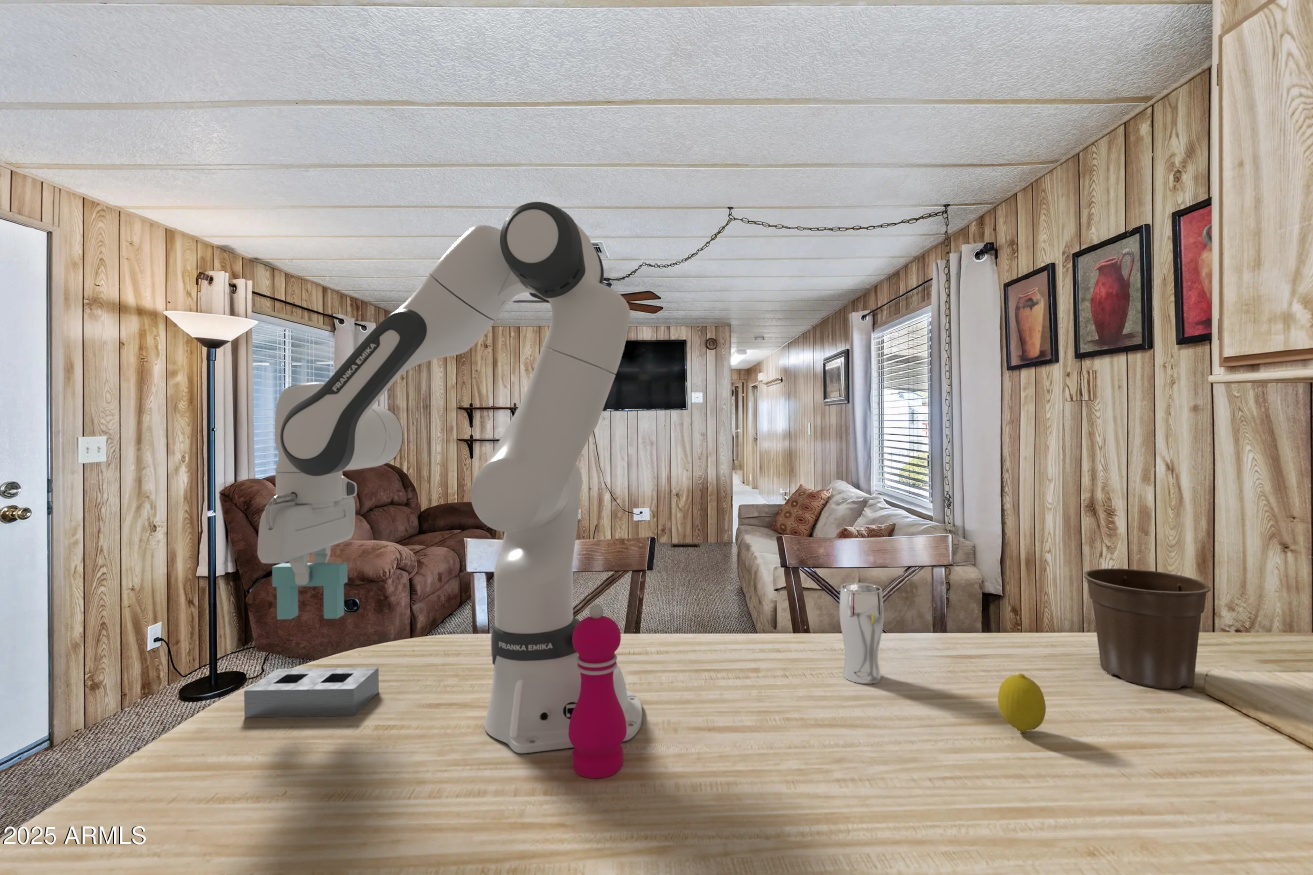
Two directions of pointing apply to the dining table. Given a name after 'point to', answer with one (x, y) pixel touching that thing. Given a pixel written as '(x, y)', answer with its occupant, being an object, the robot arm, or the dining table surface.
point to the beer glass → (861, 631)
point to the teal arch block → (323, 575)
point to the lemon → (1021, 702)
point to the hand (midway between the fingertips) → (311, 580)
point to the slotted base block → (312, 692)
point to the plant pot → (1147, 624)
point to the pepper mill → (597, 699)
